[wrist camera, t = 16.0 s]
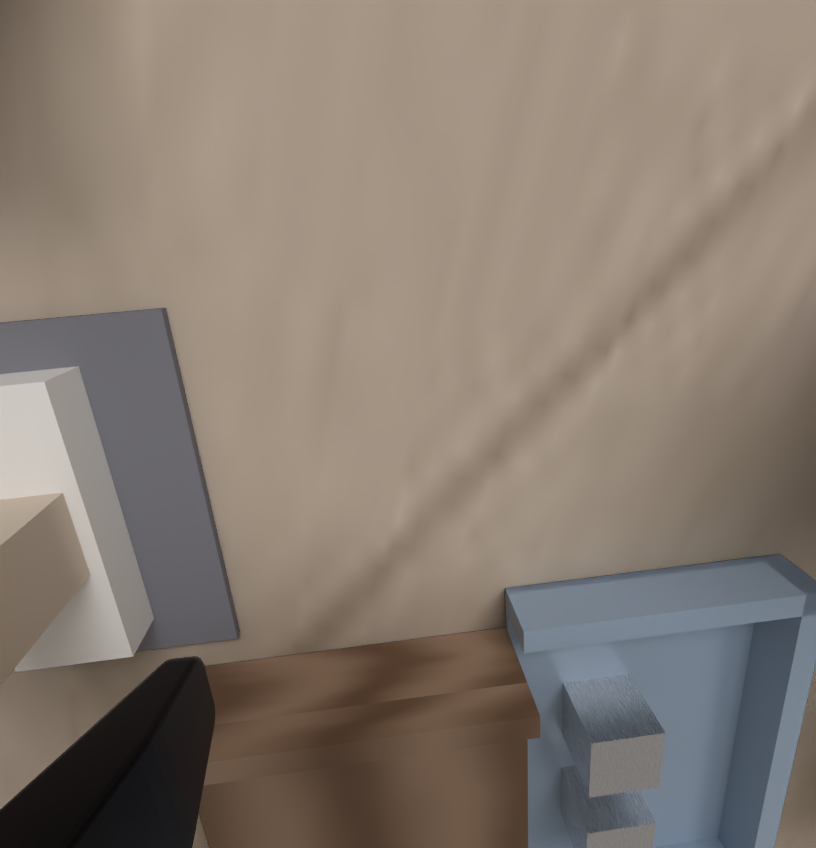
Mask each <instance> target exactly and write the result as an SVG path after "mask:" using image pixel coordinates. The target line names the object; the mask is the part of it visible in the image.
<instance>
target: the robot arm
mask: <svg viewBox="0 0 816 848" xmlns="http://www.w3.org/2000/svg"><path fill="white" fill-rule="evenodd" d="M214 725H215V703H214V699H213V695H212V692H211V688H210V684H209V680H208V677H207V673H206V669H205V666H204V663H203V661H202V660H201V658H199V657H196V656H193V657H184V658H175V659H170V660H167V661H165V662H164V663H163V664H161V665H160V666H159V667H158V668H157V669H156V670H155V671H154V672H152V673H151V674H150V675H149V676H148V677H147V678H146V679H145V680H144V681H142V682H141V683H140V684H139V685H138V686H137V687H136V688H135V689H134V690H133V691H131V692H130V693H129V694H128V695H127V696H126V697H125V698H124V699H123V700H121V701H120V702H119V703H118V704H117V705H116V706H115V707H114V708H113V709H111V710H110V711H109V712H108V713H107V714H106V715H105V716H104V717H103V718H101V719H100V720H99V721H98V722H97V723H96V724H95V725H94V726H93V727H91V728H90V729H89V730H88V731H87V732H86V733H85V734H84V735H83V736H81V737H80V738H79V739H78V740H77V741H76V742H75V743H74V744H73V745H71V746H70V747H69V748H68V749H67V750H66V751H65V752H64V753H63V754H61V755H60V756H59V757H58V758H57V759H56V760H55V761H54V762H53V763H51V764H50V765H49V766H48V767H47V768H46V769H45V770H44V771H43V772H41V773H40V774H39V775H38V776H37V777H36V778H35V779H34V780H33V781H32V782H30V783H29V784H28V785H27V786H26V787H25V788H24V789H23V790H22V791H20V792H19V793H18V794H17V795H16V796H15V797H14V798H13V799H12V800H10V801H9V802H8V803H7V804H6V805H5V806H4V807H3V808H2V809H0V848H192V845H193V840H194V835H195V830H196V824H197V819H198V813H199V808H200V802H201V797H202V791H203V786H204V780H205V775H206V769H207V764H208V758H209V753H210V747H211V742H212V736H213V731H214Z"/></svg>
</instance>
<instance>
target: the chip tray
mask: <svg viewBox="0 0 816 848" xmlns="http://www.w3.org/2000/svg"><path fill="white" fill-rule="evenodd" d="M505 601H506V628H507V631H508V634H509V636H510V639H511V641H512V644H513V647H514V649H515V652H516V654H517V657H518V660H519V662H520V665H521V667H522V670H523V673H524V675H525V678H526V680H527V683H528V686H529V688H530V691H531V693H532V696H533V699H534V701H535V704H536V706H537V709H538V712H539V714H540V738H534V739H528V848H573V845H572V842H571V839H570V836H569V834H568V831H567V828H566V825H565V822H564V820H563V817H562V814H561V811H560V810H561V767H566V766H572V765H575V763H574V761H573V759H572V756H571V754H570V751H569V749H568V747H567V744H566V742H565V739H564V737H563V734H562V715H563V683H567V682H574V681H582V680H589V679H596V678H603V677H611V676H618V675H625V674H629V675H630V677H631V678H632V680H633V681H634V683H635V685H636V686H637V688H638V689H639V691H640V693H641V694H642V696H643V697H644V699H645V701H646V702H647V704H648V705H649V707H650V709H651V710H652V712H653V713H654V715H655V717H656V718H657V720H658V721H659V723H660V725H661V726H662V728H663V729H664V731H665V733H666V735H665V744H664V753H663V762H662V771H661V780H660V787H658V788H651V789H645V790H639V791H640V793H641V795H642V797H643V799H644V801H645V803H646V805H647V807H648V809H649V811H650V813H651V814H652V816H653V818H654V820H655V822H656V827H655V836H654V845H653V848H774V846H775V841H776V837H777V832H778V828H779V823H780V819H781V814H782V810H783V805H784V801H785V796H786V792H787V788H788V783H789V779H790V774H791V770H792V765H793V761H794V756H795V752H796V747H797V743H798V738H799V734H800V729H801V725H802V720H803V716H804V712H805V707H806V703H807V698H808V694H809V689H810V685H811V680H812V676H813V671H814V667H815V662H816V580H815V579H813V578H812V577H811V576H809V575H808V574H807V573H805V572H804V571H803V570H801V569H800V568H798V567H797V566H796V565H794V564H793V563H792V562H790V561H789V560H788V559H786V558H785V557H784V556H782V555H781V554H775V555H767V556H759V557H751V558H743V559H735V560H727V561H719V562H711V563H703V564H695V565H687V566H679V567H671V568H663V569H655V570H647V571H639V572H631V573H623V574H615V575H607V576H599V577H591V578H583V579H575V580H567V581H559V582H551V583H543V584H535V585H527V586H519V587H511V588H505Z"/></svg>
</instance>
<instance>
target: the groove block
mask: <svg viewBox="0 0 816 848" xmlns="http://www.w3.org/2000/svg"><path fill="white" fill-rule="evenodd" d="M205 669H206V673H207V677H208V680H209V684H210V688H211V692H212V695H213V699H214V703H215V725H214V731H213V736H212V742H211V747H210V753H209V758H208V764H207V769H206V775H205V780H204V786H203V791H202V797H201V802H200V808H199V815H200V819H201V822H202V825H203V829H204V832H205V835H206V839H207V842H208V845H209V848H528V739H534V738H540V714H539V712H538V709H537V706H536V704H535V701H534V699H533V696H532V693H531V691H530V688H529V686H528V683H527V680H526V678H525V675H524V673H523V670H522V667H521V665H520V662H519V660H518V657H517V654H516V652H515V649H514V647H513V644H512V641H511V639H510V636H509V634H508V631H507V628H506V627H505V628H497V629H489V630H482V631H474V632H466V633H459V634H451V635H443V636H435V637H428V638H420V639H412V640H404V641H397V642H389V643H381V644H373V645H366V646H358V647H350V648H343V649H335V650H327V651H319V652H312V653H304V654H296V655H288V656H281V657H273V658H265V659H257V660H250V661H242V662H234V663H227V664H219V665H211V666H205Z"/></svg>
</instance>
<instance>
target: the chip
mask: <svg viewBox="0 0 816 848" xmlns="http://www.w3.org/2000/svg"><path fill="white" fill-rule="evenodd" d="M562 734H563V737H564V739H565V742H566V744H567V747H568V749H569V751H570V754H571V756H572V759H573V761H574V763H575V766H576V768H577V771H578V773H579V775H580V778H581V780H582V783H583V785H584V787H585V790H586V792H587V795H588V797H589V798H591V797H598V796H605V795H611V794H618V793H625V792H631V791H638V790H645V789H651V788H658V787H660V780H661V771H662V762H663V753H664V744H665V735H666V733H665V731H664V729H663V728H662V726H661V725H660V723H659V721H658V720H657V718H656V717H655V715H654V713H653V712H652V710H651V709H650V707H649V705H648V704H647V702H646V701H645V699H644V697H643V696H642V694H641V693H640V691H639V689H638V688H637V686H636V685H635V683H634V681H633V680H632V678H631V677H630V675H629V674H625V675H618V676H611V677H603V678H596V679H589V680H582V681H574V682H567V683H563V715H562Z"/></svg>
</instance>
